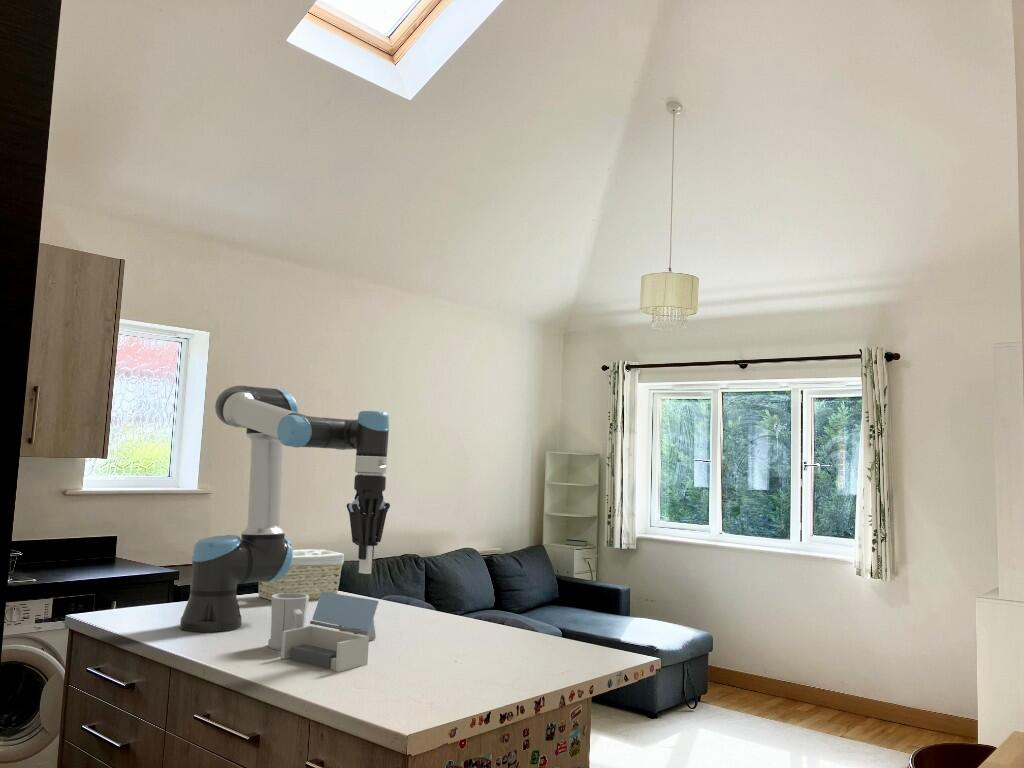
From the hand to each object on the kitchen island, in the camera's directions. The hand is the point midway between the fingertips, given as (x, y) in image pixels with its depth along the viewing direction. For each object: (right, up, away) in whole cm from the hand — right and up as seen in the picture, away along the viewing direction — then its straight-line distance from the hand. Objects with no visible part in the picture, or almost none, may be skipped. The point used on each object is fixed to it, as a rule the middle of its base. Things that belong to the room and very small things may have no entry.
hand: (365, 573), depth 192 cm
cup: (-18, -18, +1) cm, 26 cm away
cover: (-4, -7, -7) cm, 11 cm away
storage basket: (-34, -24, +68) cm, 80 cm away
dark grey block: (-9, -17, -14) cm, 23 cm away
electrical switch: (-4, -20, +9) cm, 22 cm away
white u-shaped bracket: (-7, -17, -11) cm, 22 cm away
